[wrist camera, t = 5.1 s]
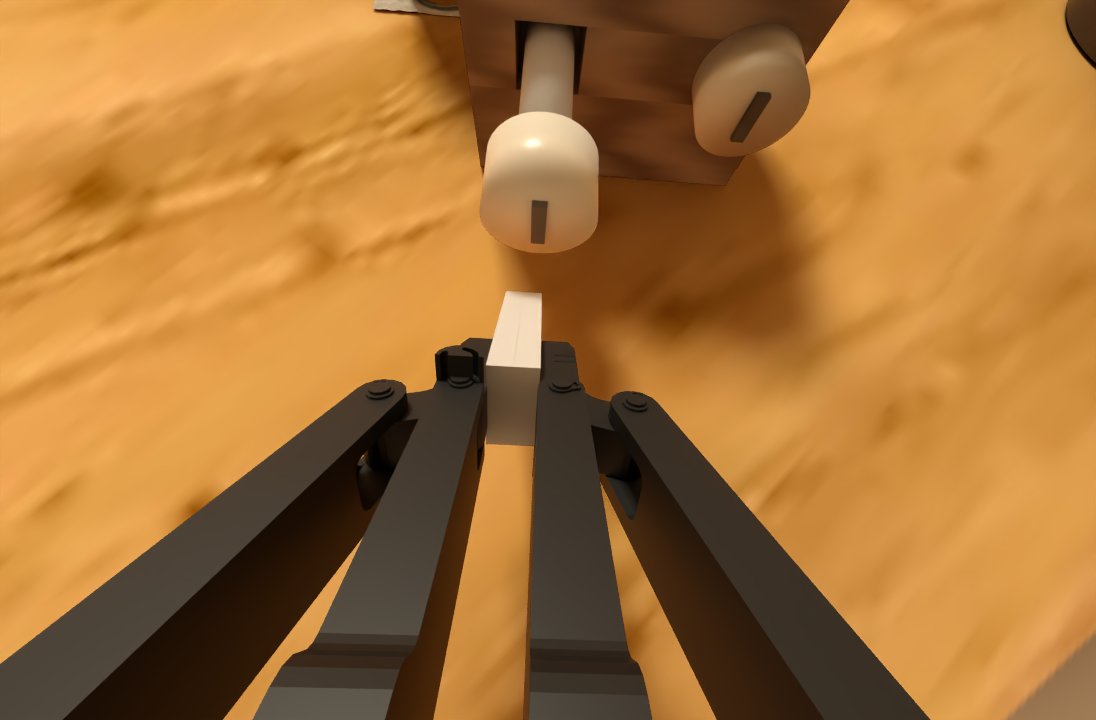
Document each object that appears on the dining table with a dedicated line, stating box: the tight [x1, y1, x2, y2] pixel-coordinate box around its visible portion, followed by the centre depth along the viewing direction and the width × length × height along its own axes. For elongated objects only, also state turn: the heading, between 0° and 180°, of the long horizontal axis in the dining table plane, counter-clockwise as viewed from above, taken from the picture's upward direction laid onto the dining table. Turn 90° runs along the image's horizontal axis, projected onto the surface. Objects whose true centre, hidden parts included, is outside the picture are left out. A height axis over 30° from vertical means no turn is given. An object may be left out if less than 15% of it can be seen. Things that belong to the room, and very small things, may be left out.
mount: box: [457, 0, 850, 186], centre depth 21 cm, size 16×13×11 cm
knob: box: [480, 21, 599, 253], centre depth 18 cm, size 5×15×5 cm, turn 177°
